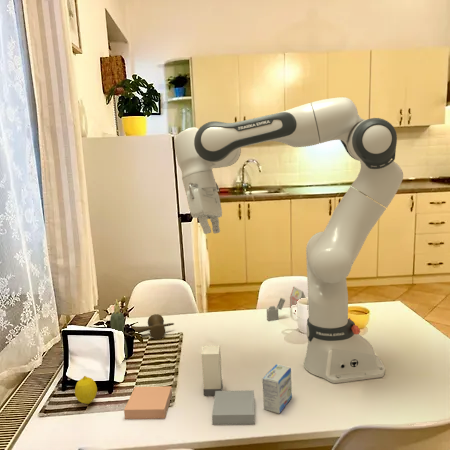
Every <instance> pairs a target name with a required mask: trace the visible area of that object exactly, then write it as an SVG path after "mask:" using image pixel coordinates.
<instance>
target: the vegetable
mask: <svg viewBox="0 0 450 450" xmlns="http://www.w3.org/2000/svg"><path fill="white" fill-rule="evenodd" d="M114 300H115V302H114V307H113V312H112V313H111V315H110V319H109V320H110V321H109V322H110V329H111V328H112V329H115V330H118V331H122V332H123V333H124V327H125V316H124V313H122V311H121V306H120V302H119V301H118V299H116V298H115V299H114ZM124 339H125V344H124V347H125V355H126V357H128V347H127V346H128V345H127V341H126V337H125V338H124Z"/></svg>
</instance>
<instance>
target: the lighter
mask: <svg viewBox="0 0 450 450" xmlns="http://www.w3.org/2000/svg"><path fill="white" fill-rule="evenodd" d="M285 303H286V299H285V298H283V297H280V298H279V300H278V303H277V305H276V306H275V305H271V306H269V307H268V308H266V320H267V322H273V321H279V319H280V318H279V310H280V311H282V309H283V306H284V304H285Z"/></svg>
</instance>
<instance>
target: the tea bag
mask: <svg viewBox="0 0 450 450" xmlns="http://www.w3.org/2000/svg"><path fill="white" fill-rule="evenodd" d="M301 298H306V299H307V297H306V296H305V293H304V291H303V290H302V289H299V288H297V287H296V286H293V287H292V291H291V293H290V296H289V309H290V308H291V306H292V305H296V304H297V301H298V300H299V299H301ZM295 312H296V310H295Z"/></svg>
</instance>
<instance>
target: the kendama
mask: <svg viewBox="0 0 450 450" xmlns="http://www.w3.org/2000/svg"><path fill="white" fill-rule="evenodd" d="M174 325H175V323H174V322H170V323H165V321H164V317H163V316H162V315H161V314H158V313H157V314H156V313H154V314H152V315H150V316H149V317H148V319H147V325H145V326H144V325H143V326H142V325H141V326H135V325H132V326H131V328H133V329H134V330H135V331H136V332H138V334H141V333H144V332H148V331H149V335H150V337H151V338H152V339H155V340H159V339H162V338H164V337H165V334H166V327H169V326H174Z"/></svg>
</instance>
